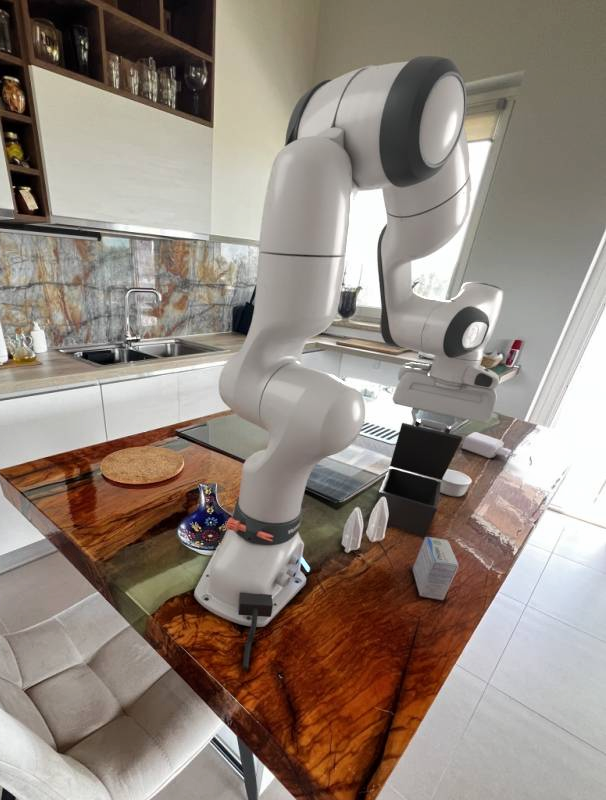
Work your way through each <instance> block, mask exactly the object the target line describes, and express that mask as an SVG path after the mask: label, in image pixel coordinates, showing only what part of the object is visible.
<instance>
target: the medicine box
mask: <svg viewBox="0 0 606 800" xmlns="http://www.w3.org/2000/svg"><path fill="white" fill-rule="evenodd" d="M459 566H460V565H459V562H458V560H457V558H456V556H455V554H454V550H453V548H452V546H451V543H450V541H449V540H447V539H443V538H437V537H430V536H426V537H424V539H423V542H422V544H421V546H420V549H419V551H418V554H417V557H416V559H415V562H414V564H413V567H412V573H413V576H414V580H415V583H416V587H417V590H418V594H419V597H423V598H428V599H432V600H439V601H444V599H445V597H446V595H447V593H448V591H449V589H450V587H451V584H452V582H453V580H454V578H455V575H456V573H457V571H458V569H459Z"/></svg>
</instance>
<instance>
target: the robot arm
mask: <svg viewBox="0 0 606 800" xmlns="http://www.w3.org/2000/svg"><path fill="white" fill-rule="evenodd" d="M466 88H467V87H466V84H465V81H464V77H463V76H462V74H461V72H460V70H459V69H458V66H457V65H456V64H455V63H454V62H453V60H451V59H449V58H446V57H443V56H437V55H420V56H417V57H416V56H415V57H414V58H412V59H411V60H409V61H399V62H390V63H383V64H380V65H366V66H363V67H360V68H357V69H354V70H351V71H349V72H346V73H344V74H342V75H340V76H338V77H336V78H334V79H326V80H323V81H321V82H318V84H316V85H314V86H313V87H311V88H310V89H308V90H307V91H306V92H305V93H304V94H303V95H302V96H301V97H300V98H299V99H298V101H297V103H296V104H295V106H294V108H293V110H292V113H291V114H290V118H289V121H288V125H287V130H286V133H285V134H286V135H285V141H284V142H285V143H284V147H282V149H281V150H280V151H279V152H278V153H277V155H276V156H275V158H274V160H273V163H272V165H271V169H270V173H269V177H268V182H267V187H266V192H265V196H264V202H263V209H262V215H261V216H262V217H261V222H260V232H259V240H258V241H259V242H258V243H259V244H258V256H257V271H256V285H255V295H254V308H253V314H252V319H251V323H250V326H249V328H248V332H247V335H246V337H245V340H244V342H243V344H242V346H241V348H239V350H238V351H237V352H236V353H235V354H234V355H233V356H231V357H230V358H229V359H228V360H227V361H226V363H225V364H224V365H223V367H222V369H221V372H220V375H219V379H218V393H219V397H220V399H221V400H222V402H223V403H224V405H226V406H227V407H228V408H229V409H230V410H231V411H232V412H233V413H234V414H236V415H237V416H238V417H239V418H240V419H242V420H245V421H247V422H249V423H251V424H252V425H254V426H256V427H259V428H260V429H263V430H265V431H266V432H267V433H268V440H269V441H268V445H267V448H265V449H261V450H258V451H256V452H254V453H253V454H251V455H250V456H248V458H247V459H246V460H245V461H244V463H243V465H242V467H241V476H240V483H239V493H238V498H237V499H236V502H235V505H234V506H233V507H234V508H233V511H232V515H231V517H229V518H228V519H227V521H226V525H225V529H226V531H225V533H224V535H223V538H222V540H221V542H220V544H218V545H217V547H216V549H215V551H214V552H213V555H212V556H211V558H210V560H209V561H208V564H207V566H206V568H205V569H204V571H203V572H202V573H203V574H202V576H201V577H200V579H199V581H198V583H197V584H196V586H195V589H194V592H193V596H194V598H195V599H196V601H197V602H198V603H199V604H200V605H201V606H202V607H203V608H205V609H206V610H207V611H209V612H211V613H213V614H214V615H216V616H218V617H221V618H222V619H225V620H227V621H229V622H232V623H235V624H238V625H242V626H246V627H250V629H249V632H248V636H247V638H246V641H245V646H244V651H243V661H242V670H244V671H247V670H249V665H250V664H249V663H250V654H251V647H252V643H253V641H254V640H253V639H254V637H255V635H256V631H257V630H256V629H257V628H262V627H266V625H268V624H269V623H270V622H271V621H272V620H273V619H274V618H275V617H276V615H278V614H279V613H280V611H281V610H283V608H284V607H286V605H287V604H288V603H289V602H290V601H291V600H292V599H293V598H294V597H295V596H296V595H297V594H298V593H299V592H300V591H301V590H302V588H304V587H305V585H306V584H307V577H306V576H305V574H304V573H303V572H302V571H301V566H303V567H304V569H305V571H306V572H308V573H309V572H310V570H311V567H310V566H309V564H308V563H307V562H306V560H305V559H304V557H303V553H304V547H305V544H304V541H303V540H302V537H301V535H300V533H299V530H300V527H301V523H302V519H303V508H302V505H303V500H304V495H305V491H306V488H307V484H308V481H309V478H310V476H311V474H312V472H313V470H314V469H315V467H316V466H317V465H318V464H319V463H320V462H321V461H322V460H324V459H325V458H328V457H330V456H334V455H337V454H339V453H342V452H343V451H344V450H346V449H348V448H349V446H351V445H352V444H353V443H354V442H355V441H356V439H357V438H358V437H359V435H360V433H361V432H362V429H363V427H364V424H365V417H366V406H365V400H364V397H363V395H362V393H361V392H360V391H359V390H357V388H354V387H353V386H351V384H348V383H347V382H345V381H344V380H342V379H340V378H339V377H337V376H335V375H333V374H330V373H328V372H326V371H325V372H324V371H322V370H319V369H315V368H312V367H309V366H306V365H303V364H302V355H303V351H304V348H305V346H306V343H307V342H308V340H309V339H312V338H314V337H316V336H318V335H320V334H321V333H323V332H325V331H326V330H327V329H328V328H329V327H330V326H331V325H332V324H333V323H334V321H335V319H336V317H337V315H338V309H339V303H340V298H341V290H342V286H343V285H342V284H343V280H344V279H343V278H344V273H345V266H346V259H347V253H348V245H349V240H350V229H351V221H352V219H351V218H352V205H353V202H354V200H355V198H356V196H357V194H358V192H363V191H375V190H379V189H380V190H382V191H381V192H382V199H383V203H384V208H385V212H386V224H385V225H384V227H383V228H382V230H381V232H380V234H379V236H378V241H377V249H376V250H377V251H376V258H377V259H376V261H377V275H378V283H379V285H378V286H379V293H380V294H379V296H380V307H381V312H380V321H379V329H380V335H381V337H382V339H383V341H384V343H385V345H387V346H389V347H391V348H398V349H406V350H411V351H414V352H419V353H422V354H427V355H430V356H433V359H432V363H431V365H430V364H424V363H418V362H417V363H416V362H415V361H410V362H409V363H404V364H403V365H402V366H401V367H400V369H399V371H398V374H397V380H398V384H397V386H396V388H395V391H394V393H393V395H392V402H393V403H394V404H395V405H398V406H402V407H403V406H404V407H406V408H407V407H408V408H411V412H410V413H411V416H412V420H413V422H412V425H415V426H419V425H420V422H421V419H419V418H418V414H419V411H420V410H421V411H425V412H431V413H436V414H439V415H444V416H448V417H453V418H454V423H453V424H451V425H447V427H446V430H445V431H444V432H445V433H449V434H453V431H454V430H456V429H457V428H458V427H459V426H461V425H462V423H463V421H464V420H467V421H471V422H476V423H481V424H486V423H487V422H490V421H491V419H492V417H493V414H494V411H495V408H496V404H497V401H498V400H497V399H498V394H497V390H496V388H497V387H498V385H499V384H500V376H499V375H498V374H497V373H496V372H495V371H492V370H491V369H489V368H487V367H485V366H483V365H481V363H482V361H483V357H484V351H485V348H486V346H487V343H488V342H489V341H490V339H491V338H492V335H493V333H494V330H495V329H496V324H497V322H498V319H499V315H500V313H501V309H502V305H503V301H504V291H503V289H501V288H500V287H499V286H497V285H494V284H489V283H487V282H481V281H480V282H479V281H470V282H465V283H463V284H462V286H461V287H460V289H459V291H458V293H457V295H456V296H454V297H453V298H451V299H449V300H445V299H438V298H432V297H426V296H422V295H420V294H418V293H417V292H415V291H414V290H413V286H412V284H413V282H412V281H413V280H412V262H413V261H416V260H419V259H423V258H426V257H428V256H430V255H432V254H434V253H435V252H437V251H439V250H440V249H442V248H443V247H445V246H446V245H447V244H448V243H449V242H450V241H451V240H452V239H453V238H455V236H456V235H457V234H458V233H459V232H460V230H461V229H462V227H463V225H464V224H465V222H466V220H467V218H468V216H469V213H470V209H471V204H472V175H471V161H470V152H469V145H468V139H467V132H466V129H465V128H466V127H465V121H466V115H467V108H468V107H467V106H468V105H467V103H468V98H467V96H468V94H467V89H466ZM419 427H420V426H419Z"/></svg>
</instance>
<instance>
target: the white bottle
mask: <svg viewBox="0 0 606 800" xmlns="http://www.w3.org/2000/svg"><path fill="white" fill-rule="evenodd" d="M504 444H505V443H504V441H503V440H502V439H498V438H495V437H492V436H490V435H486V434H483V433H481V432H477V431H474V432H472V433H470V434H468V435H467V436H466V437H465V439H464V441H463V443H462V446H461V449H462V450H464V451H468V452H471V453H473V454H476V455H479V456H482V457H485V458H487V459H491V458H494V457H495V456H500V457H502V458H507V457H508V456H510V457H513V458H515V457H517V454H516V453H513V452H512V450H511V449H510V448H506V447H504Z"/></svg>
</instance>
